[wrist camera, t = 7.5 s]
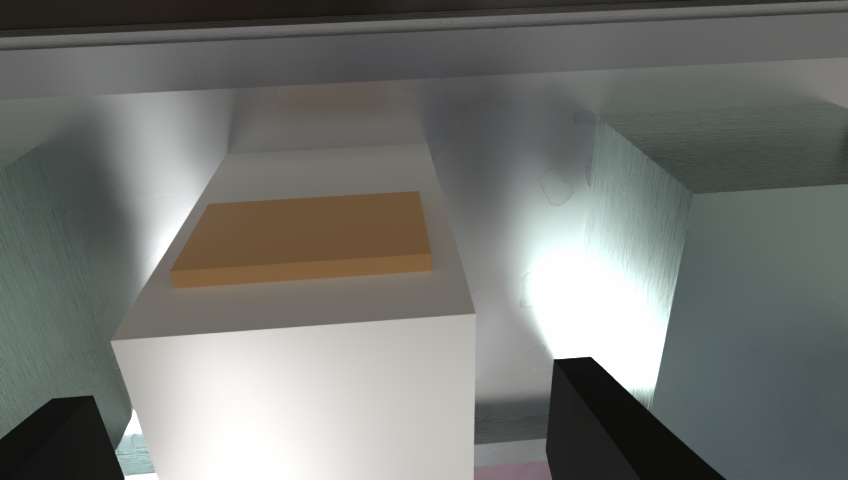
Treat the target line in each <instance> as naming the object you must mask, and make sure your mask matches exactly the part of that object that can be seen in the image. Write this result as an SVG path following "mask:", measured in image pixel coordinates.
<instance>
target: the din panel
mask: <svg viewBox="0 0 848 480" xmlns="http://www.w3.org/2000/svg"><path fill="white" fill-rule="evenodd" d="M420 143H428V147H429V150H430V154H431V157H432V161H433V164H434V168H435V172H436V175H437V179H438V182H439V186H440V189H441V193H442V196H443V200H444V203H445V207H446V210H447V214H448V217H449V221H450V224H451V228H452V231H453V235H454V238H455V242H456V245H457V249H458V252H459V256H460V259H461V263H462V266H463V270H464V273H465V277H466V280H467V284H468V288H469V291H470V295H471V298H472V302H473V305H474V309H475V312H476V344H475V410H474V467H482V466H493V465H504V464H515V463H526V462H536V461H547V460H548V459H547V455H546V451H545V450H546V439H547V428H548V417H549V406H550V395H551V384H552V373H553V362H554V359H561V358H574V357H586V356H591V357H592V358H594V359H595V360H596V361H597V362H598V363H599V364H600V365H601V366H602V367H603V368H604V369H605V370H606V371H607V372H608V373H610V374H611V375H612V376H613V377H614V378H615V379H616V380H617V381H618V382H619V383H620V384H621V385H622V386H623V387H624V388H625V389H626V390H627V391H628V392H629V393H630V394H632V395H633V396H634V397H635V398H636V399H637V400H638V401H639V402H640V403H641V404H642V405H643V406H644V407H645V408H646V409H647V410H648V411H650V412H651V413H652V414H653V415H654V416H655V417H656V418H657V419H658V420H659V421H660V422H661V423H662V424H664V425H665V426H666V427H667V428H668V429H669V430H670V431H671V432H672V433H674V434H675V435H676V436H677V437H678V438H679V439H680V440H681V441H683V442H684V443H685V444H686V445H687V446H688V447H689V448H690V449H692V450H693V451H694V452H695V453H696V454H697V455H698V456H699V457H701V458H702V459H703V460H704V461H705V462H706V463H707V464H709V465H710V466H711V467H712V468H713V469H715V470H716V471H717V472H718V473H719V474H720V475H722V476H723V477H724V478H725V479H727V480H848V0H692V1H669V2H646V3H623V4H600V5H577V6H554V7H530V8H507V9H484V10H461V11H438V12H415V13H392V14H369V15H346V16H323V17H300V18H277V19H254V20H231V21H208V22H184V23H161V24H138V25H115V26H92V27H69V28H46V29H23V30H0V439H1V438H3V437H4V436H5V435H6V434H7V433H9V432H10V431H11V430H12V429H14V428H15V427H16V426H17V425H19V424H20V423H21V422H22V421H24V420H25V419H26V418H27V417H29V416H30V415H31V414H32V413H34V412H35V411H36V410H37V409H39V408H40V407H42V406H43V405H44V404H46V403H47V402H48V401H50V400H51V399H52V398H64V397H77V396H90V395H93V396H94V399H95V401H96V404H97V407H98V409H99V412H100V414H101V417H102V420H103V422H104V425H105V428H106V430H107V433H108V435H109V438H110V441H111V443H112V446H113V448H114V451H115V454H116V456H117V459H118V461H119V464H120V467H121V469H122V472H123V474H124V477H125V480H158V478H157V475H156V472H155V469H154V466H153V463H152V460H151V457H150V454H149V452H148V449H147V446H146V443H145V440H144V437H143V434H142V431H141V428H140V426H139V423H138V420H137V417H136V414H135V411H134V408H133V405H132V402H131V400H130V397H129V394H128V391H127V388H126V385H125V382H124V379H123V376H122V374H121V371H120V368H119V365H118V362H117V359H116V356H115V353H114V350H113V348H112V345H111V342H110V340H111V339H112V337H113V336H114V334H115V332H116V331H117V329H118V327H119V326H120V324H121V323H122V321H123V319H124V318H125V316H126V315H127V313H128V311H129V310H130V308H131V307H132V305H133V303H134V302H135V300H136V299H137V297H138V295H139V294H140V292H141V291H142V289H143V287H144V286H145V284H146V282H147V281H148V279H149V278H150V276H151V274H152V273H153V271H154V270H155V268H156V266H157V265H158V263H159V262H160V260H161V258H162V257H163V255H164V254H165V252H166V250H167V249H168V247H169V245H170V244H171V242H172V241H173V239H174V237H175V236H176V234H177V233H178V231H179V229H180V228H181V226H182V225H183V223H184V221H185V220H186V218H187V217H188V215H189V213H190V212H191V210H192V209H193V207H194V205H195V204H196V202H197V200H198V199H199V197H200V196H201V194H202V192H203V191H204V189H205V188H206V186H207V184H208V183H209V181H210V180H211V178H212V176H213V175H214V173H215V172H216V170H217V168H218V167H219V165H220V164H221V162H222V160H223V159H224V157H225V155H226V154H240V153H258V152H276V151H294V150H312V149H330V148H348V147H366V146H384V145H402V144H420Z"/></svg>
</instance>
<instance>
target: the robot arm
mask: <svg viewBox="0 0 848 480" xmlns="http://www.w3.org/2000/svg"><path fill="white" fill-rule="evenodd" d="M545 451H546V455H547V459H548V463H549V468H550V472H551V476H552V480H727V479H725V478H724V477H723V476H722V475H720V474H719V473H718V472H717V471H716V470H715V469H713V468H712V467H711V466H710V465H709V464H707V463H706V462H705V461H704V460H703V459H702V458H701V457H699V456H698V455H697V454H696V453H695V452H694V451H693V450H692V449H690V448H689V447H688V446H687V445H686V444H685V443H684V442H683V441H681V440H680V439H679V438H678V437H677V436H676V435H675V434H674V433H672V432H671V431H670V430H669V429H668V428H667V427H666V426H665V425H664V424H662V423H661V422H660V421H659V420H658V419H657V418H656V417H655V416H654V415H653V414H652V413H651V412H650V411H648V410H647V409H646V408H645V407H644V406H643V405H642V404H641V403H640V402H639V401H638V400H637V399H636V398H635V397H634V396H633V395H632V394H630V393H629V392H628V391H627V390H626V389H625V388H624V387H623V386H622V385H621V384H620V383H619V382H618V381H617V380H616V379H615V378H614V377H613V376H612V375H611V374H610V373H608V372H607V371H606V370H605V369H604V368H603V367H602V366H601V365H600V364H599V363H598V362H597V361H596V360H595V359H594V358H592V357H591V356H586V357H574V358H561V359H554V362H553V373H552V384H551V395H550V406H549V417H548V428H547V439H546V450H545ZM0 480H125V477H124V474H123V472H122V469H121V467H120V464H119V461H118V459H117V456H116V454H115V451H114V448H113V446H112V443H111V441H110V438H109V435H108V433H107V430H106V428H105V425H104V422H103V420H102V417H101V414H100V412H99V409H98V407H97V404H96V401H95V399H94V396H93V395H90V396H77V397H64V398H52V399H51V400H50V401H48V402H47V403H46V404H44V405H43V406H42V407H40V408H39V409H37V410H36V411H35V412H34V413H32V414H31V415H30V416H29V417H27V418H26V419H25V420H24V421H22V422H21V423H20V424H19V425H17V426H16V427H15V428H14V429H12V430H11V431H10V432H9V433H7V434H6V435H5V436H4V437H3V438H1V439H0Z"/></svg>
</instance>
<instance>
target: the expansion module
mask: <svg viewBox="0 0 848 480" xmlns="http://www.w3.org/2000/svg"><path fill="white" fill-rule="evenodd" d="M110 342H111V345H112V348H113V350H114V353H115V356H116V359H117V362H118V365H119V368H120V371H121V374H122V376H123V379H124V382H125V385H126V388H127V391H128V394H129V397H130V400H131V402H132V405H133V408H134V411H135V414H136V417H137V420H138V423H139V426H140V428H141V431H142V434H143V437H144V440H145V443H146V446H147V449H148V452H149V454H150V457H151V460H152V463H153V466H154V469H155V472H156V475H157V478H158V480H473V475H474V410H475V344H476V312H475V309H474V305H473V302H472V298H471V295H470V291H469V288H468V284H467V280H466V277H465V273H464V270H463V266H462V263H461V259H460V256H459V252H458V249H457V245H456V242H455V238H454V235H453V231H452V228H451V224H450V221H449V217H448V214H447V210H446V207H445V203H444V200H443V196H442V193H441V189H440V186H439V182H438V179H437V175H436V172H435V168H434V164H433V161H432V157H431V154H430V150H429V147H428V143H420V144H402V145H384V146H366V147H348V148H330V149H312V150H294V151H276V152H258V153H240V154H226V155H225V157H224V159H223V160H222V162H221V164H220V165H219V167H218V168H217V170H216V172H215V173H214V175H213V176H212V178H211V180H210V181H209V183H208V184H207V186H206V188H205V189H204V191H203V192H202V194H201V196H200V197H199V199H198V200H197V202H196V204H195V205H194V207H193V209H192V210H191V212H190V213H189V215H188V217H187V218H186V220H185V221H184V223H183V225H182V226H181V228H180V229H179V231H178V233H177V234H176V236H175V237H174V239H173V241H172V242H171V244H170V245H169V247H168V249H167V250H166V252H165V254H164V255H163V257H162V258H161V260H160V262H159V263H158V265H157V266H156V268H155V270H154V271H153V273H152V274H151V276H150V278H149V279H148V281H147V282H146V284H145V286H144V287H143V289H142V291H141V292H140V294H139V295H138V297H137V299H136V300H135V302H134V303H133V305H132V307H131V308H130V310H129V311H128V313H127V315H126V316H125V318H124V319H123V321H122V323H121V324H120V326H119V327H118V329H117V331H116V332H115V334H114V336H113V337H112V339H111V340H110Z"/></svg>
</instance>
